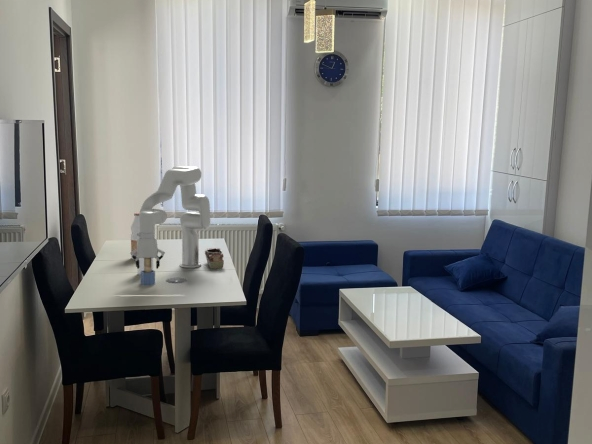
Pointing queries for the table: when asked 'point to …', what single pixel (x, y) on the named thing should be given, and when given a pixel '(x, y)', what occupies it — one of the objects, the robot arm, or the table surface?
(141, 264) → the milk
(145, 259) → the wooden pestle
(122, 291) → the table surface
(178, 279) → the coaster
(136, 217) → the fruit juice
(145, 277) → the cup
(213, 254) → the decorative box
